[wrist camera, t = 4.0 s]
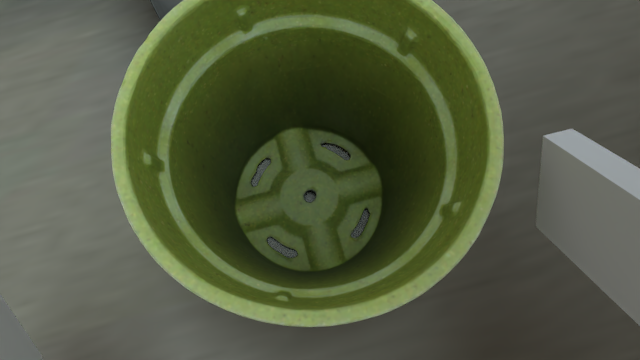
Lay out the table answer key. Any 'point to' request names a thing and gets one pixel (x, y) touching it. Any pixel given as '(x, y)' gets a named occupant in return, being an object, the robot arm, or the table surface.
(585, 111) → the table surface
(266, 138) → the plant pot
